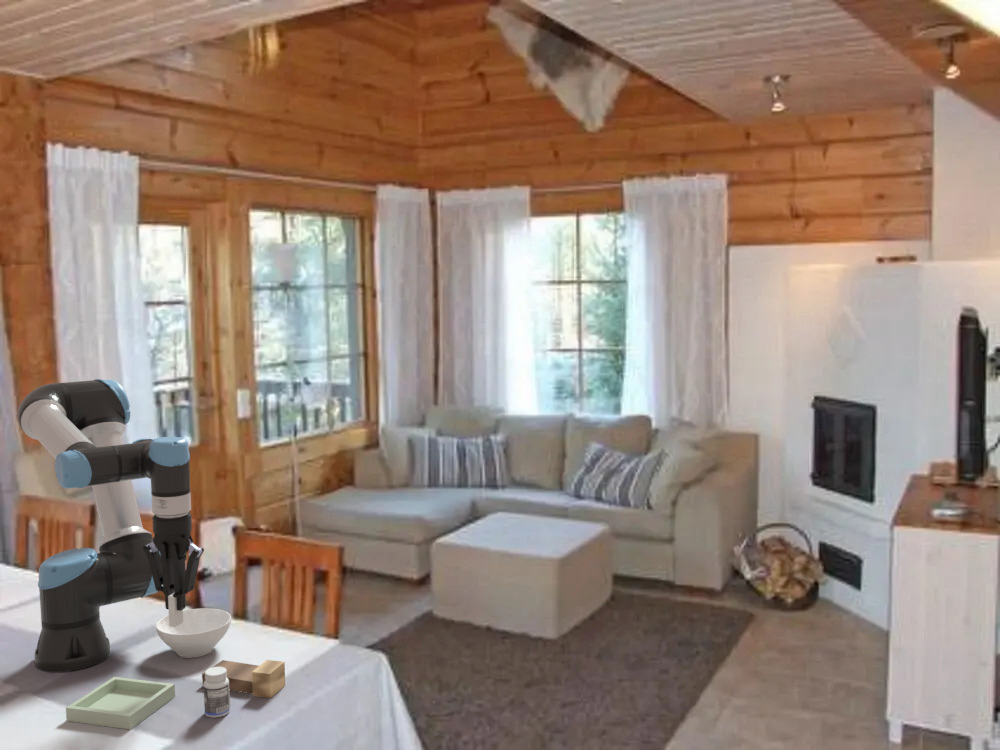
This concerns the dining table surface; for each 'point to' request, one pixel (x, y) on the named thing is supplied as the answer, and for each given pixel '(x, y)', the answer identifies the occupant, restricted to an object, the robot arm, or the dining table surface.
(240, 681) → the brown cardboard box
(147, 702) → the tray
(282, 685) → the wooden block
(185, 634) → the bowl
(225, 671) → the pill bottle
